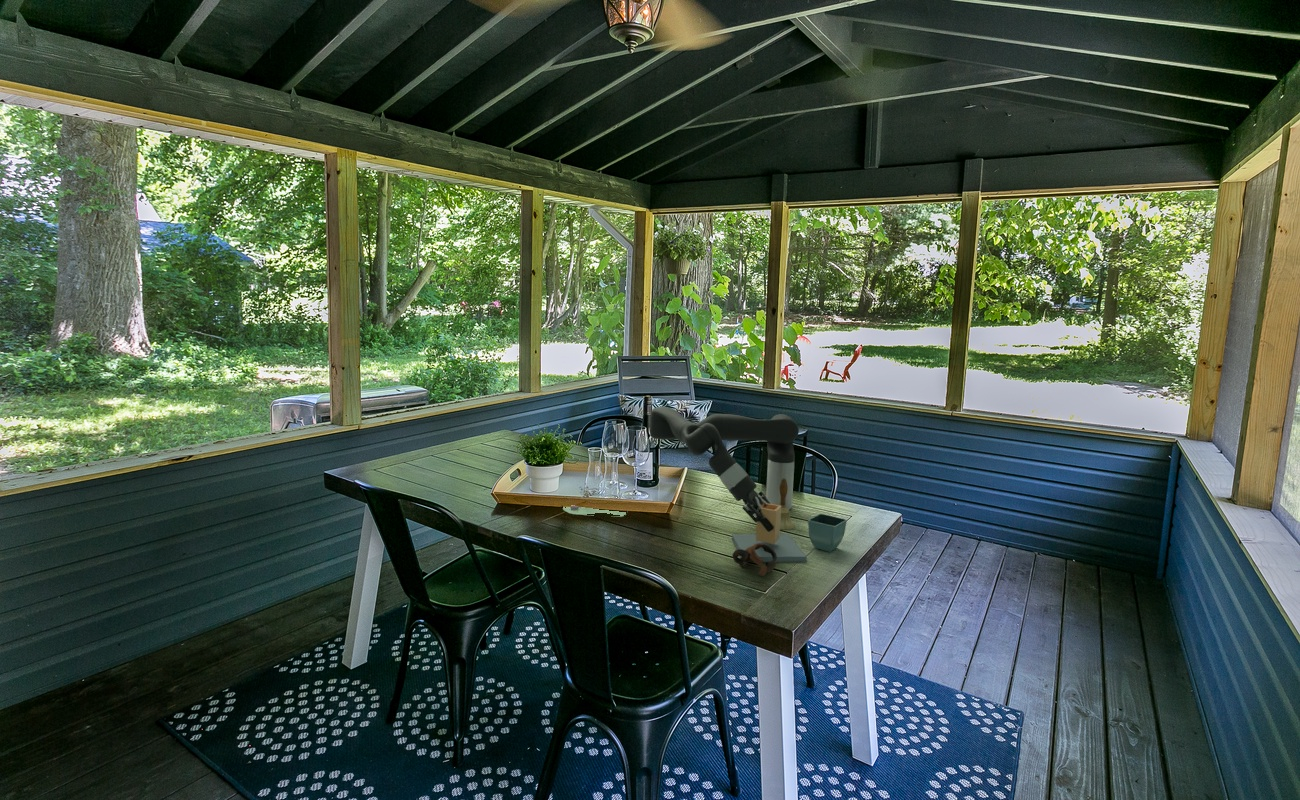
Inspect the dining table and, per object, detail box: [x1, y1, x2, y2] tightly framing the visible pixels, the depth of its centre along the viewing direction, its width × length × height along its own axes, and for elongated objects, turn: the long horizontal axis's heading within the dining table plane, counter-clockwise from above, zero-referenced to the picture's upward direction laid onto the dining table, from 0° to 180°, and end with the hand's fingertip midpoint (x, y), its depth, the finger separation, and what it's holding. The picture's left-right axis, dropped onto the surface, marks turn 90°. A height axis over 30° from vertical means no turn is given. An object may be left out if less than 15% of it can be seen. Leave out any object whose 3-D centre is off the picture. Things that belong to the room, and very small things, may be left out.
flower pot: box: [807, 513, 848, 553], centre depth 199 cm, size 9×9×9 cm
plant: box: [562, 483, 627, 517], centre depth 233 cm, size 25×21×9 cm
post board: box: [731, 533, 808, 563], centre depth 197 cm, size 18×18×8 cm
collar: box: [755, 503, 781, 544], centre depth 196 cm, size 6×6×10 cm
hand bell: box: [780, 478, 796, 531], centre depth 218 cm, size 8×8×16 cm
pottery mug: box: [732, 543, 777, 577], centre depth 182 cm, size 12×10×8 cm
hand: (774, 526), depth 196 cm, fingers closed on collar, 5 cm apart
